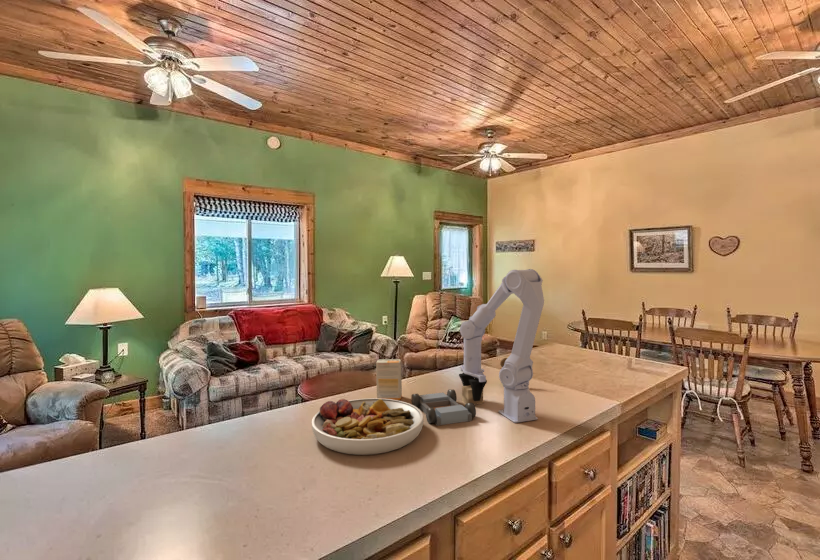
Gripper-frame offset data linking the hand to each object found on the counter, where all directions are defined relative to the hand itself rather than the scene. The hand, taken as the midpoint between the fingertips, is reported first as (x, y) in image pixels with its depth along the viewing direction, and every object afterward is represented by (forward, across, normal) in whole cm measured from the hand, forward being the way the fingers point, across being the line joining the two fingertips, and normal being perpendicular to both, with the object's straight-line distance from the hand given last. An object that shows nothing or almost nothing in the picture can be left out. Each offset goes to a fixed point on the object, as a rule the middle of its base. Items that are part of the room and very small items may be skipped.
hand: (472, 397), depth 136 cm
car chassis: (+1, -5, +13) cm, 14 cm away
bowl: (+2, -13, +38) cm, 40 cm away
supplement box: (+2, +13, +25) cm, 28 cm away
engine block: (+2, 0, 0) cm, 2 cm away
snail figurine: (+2, +12, -21) cm, 24 cm away
